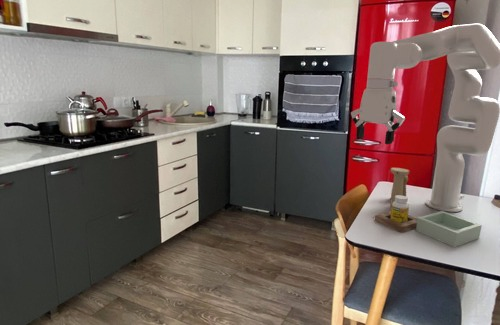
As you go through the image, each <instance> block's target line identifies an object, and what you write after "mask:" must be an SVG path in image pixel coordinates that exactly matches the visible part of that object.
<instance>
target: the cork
mask: <svg viewBox="0 0 500 325" xmlns="http://www.w3.org/2000/svg"><path fill="white" fill-rule="evenodd" d="M408 181H409V177H408V175H406V176H404V181H403V195H402V196H406V197H407V183H408Z"/></svg>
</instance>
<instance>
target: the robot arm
mask: <svg viewBox="0 0 500 325" xmlns="http://www.w3.org/2000/svg"><path fill="white" fill-rule="evenodd" d="M444 56H446V60H447V61H446V62H447V64H448V67H449V68H450V70H451V72H452V74H453V78H454V87H453V92H452V95H451V99H450V103H449V106H448V112H447V115H448V118H449V119H450V120H451V121H453V122H456V123H463V124H470V125H475V128H474V127H469V126H468V127H467V126H462V125H455V124H454V125H445V126H442V127H441V128H440V129H439V131H438V132H437V135H436V146H437V153H436V164H435V169H434V173H433V174H434V175H433V182H432V189H431V196H430V198H427V199H426V200H425V204H426V205H427V206H428V207H429V208H431V209H434V210H437V211H444V212H447V213H457V212H461V211H463V205H462V204H461V203H460V200H464V198H465V195H464V194H461V190H462V186H463V185H462V184H463V178H464V174H465V166H466V165H465V164H466V163H465V162H466V161H465V158H464V157H463V155H469V156H475V157H482V156H484V155H486V154H487V153H488V152H489V151H490V148H491V146H492V143H493V139H494V135H495V132H496V128H497V125H498V121H499V117H500V103H499V102H498V101H497V99H494V98H491V97H480V95H481V90H482V86H483V81H482V78H481V76H480V74H479V73H478V72H477V71H490V70H494V69H496V68H497V67H499V66H500V43H499V41H498V40H497V39H496V37H495V36H494V34H493V33H492V32H491V31H490V29H488V27H486V26H485V25H483V24H482V23H469V24H460V25H459V24H457V25H452V26H447V27H444V28H441V29H438V30H435V31H434V30H433V31H430V32H426V33H422V34H418V35H414V36H410V37H406V38H401V39H397V40H393V41H377V42H373V43H371V45H370V51H369V59H368V69H367V70H368V71H367V81H366V88H365V89H364V90H363V94H362V97H361V101H360V106H359V108H357V109H355V110H353V111H351V112H350V115H351V117H352V121H353V123H354V125H355V128H356V140H359V141H360V140H364V138H365V124H366V123H370V124H371V123H372V124H377V125H378V124H381V125H385V127H386V128H387V129H386V132H385V138H384V140H385V141H384V144H385V145H391V144H392V143H393V142H394V138H395V137H394V136H395V131H397V129H399V128H401V126H402V124H403V122H404V121H405V120H406V118H405V116H404V115H402V114H401V113H399V112H398V111H397V93H396V90H394V89H395V88H397V87H398V81H395V72H396V69H398V70H400V69H401V70H405V69H406V70H407V69H411V68H414V67H416V66H417V65H418V64H419V63H420V62H425V61H432V60H436V59H439V58H442V57H444ZM394 87H395V88H394ZM358 115H359V116H358ZM396 119H397V120H396ZM395 121H396V122H395Z"/></svg>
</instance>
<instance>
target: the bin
mask: <svg viewBox="0 0 500 325" xmlns="http://www.w3.org/2000/svg"><path fill="white" fill-rule="evenodd" d="M417 218H418V219H417V226H416V229H415V231H417V232H419V233H421V234H424V235H425V236H427V237H430V238H432V239H435V240H436V241H440V242H442V243H443V244H447V245H449V246H451V247H454V248H455V247H459V246H461V245H464V244H467V243H470V242H472V241H475V240H478V239H480V236H481V231H482V224H481V223H478V222H474V221H472V220H469V219H466V218H463V217H461V216H457V215H454V214H451V212H447V211H441V210H439V211H437V212H434V213H429V214H426V215H422V216H418V217H417Z"/></svg>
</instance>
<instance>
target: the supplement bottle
mask: <svg viewBox="0 0 500 325" xmlns="http://www.w3.org/2000/svg"><path fill="white" fill-rule="evenodd" d="M408 199H409V197H407V195H406V196H402V195H396V196H395V201H394V202H393V203H392V207H391V210H390V211H391V218H390V219H392V220H394V221H397V222H399V223H403V222H407V219H408V215H409V211H410V210H409V209H410V204H409V203H408V201H409V200H408Z"/></svg>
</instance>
